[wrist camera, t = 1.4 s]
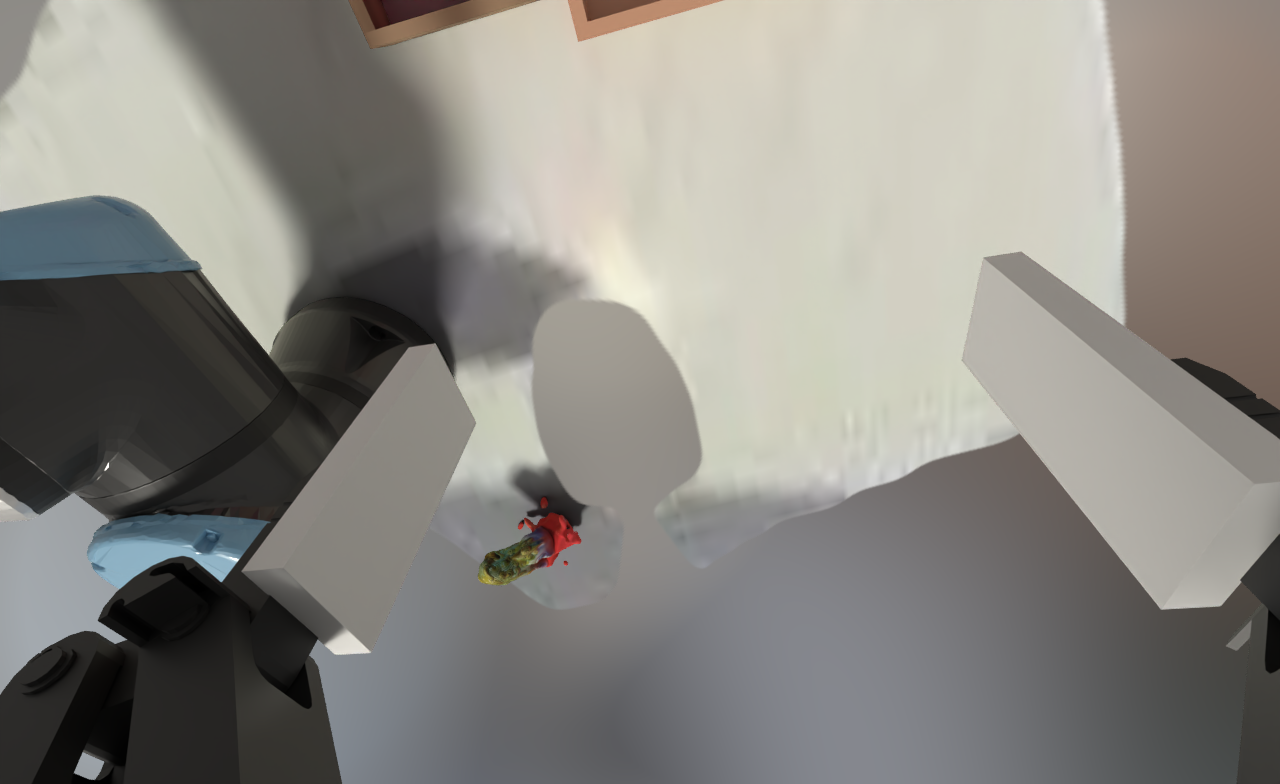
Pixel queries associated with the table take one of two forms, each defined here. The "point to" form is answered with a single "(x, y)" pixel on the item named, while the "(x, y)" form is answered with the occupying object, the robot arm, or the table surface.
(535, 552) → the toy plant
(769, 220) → the table surface
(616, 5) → the terracotta tray
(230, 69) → the table surface
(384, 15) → the small wooden tray
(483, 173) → the table surface
